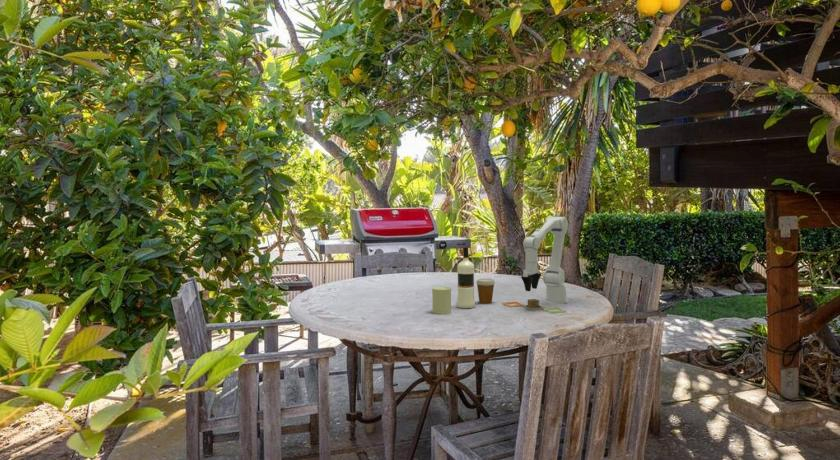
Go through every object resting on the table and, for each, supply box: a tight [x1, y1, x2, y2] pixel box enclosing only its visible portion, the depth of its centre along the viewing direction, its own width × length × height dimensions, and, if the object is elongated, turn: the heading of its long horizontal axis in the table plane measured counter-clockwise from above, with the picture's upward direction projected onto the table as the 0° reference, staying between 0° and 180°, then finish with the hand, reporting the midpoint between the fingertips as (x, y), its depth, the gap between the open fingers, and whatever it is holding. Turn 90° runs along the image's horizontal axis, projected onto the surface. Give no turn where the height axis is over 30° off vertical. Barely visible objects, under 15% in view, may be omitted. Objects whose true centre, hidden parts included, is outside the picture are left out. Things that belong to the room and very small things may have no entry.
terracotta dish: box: [501, 301, 525, 308], centre depth 291 cm, size 8×8×1 cm
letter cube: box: [527, 298, 540, 308], centre depth 284 cm, size 4×4×4 cm
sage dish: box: [542, 306, 567, 315], centre depth 277 cm, size 8×8×1 cm
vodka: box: [456, 246, 476, 310], centre depth 288 cm, size 9×9×30 cm
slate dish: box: [521, 304, 546, 311], centre depth 284 cm, size 8×8×1 cm
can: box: [431, 286, 452, 315], centre depth 278 cm, size 9×9×12 cm
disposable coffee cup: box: [475, 278, 496, 305], centre depth 298 cm, size 10×10×12 cm
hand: (531, 289), depth 282 cm, fingers open, 7 cm apart
